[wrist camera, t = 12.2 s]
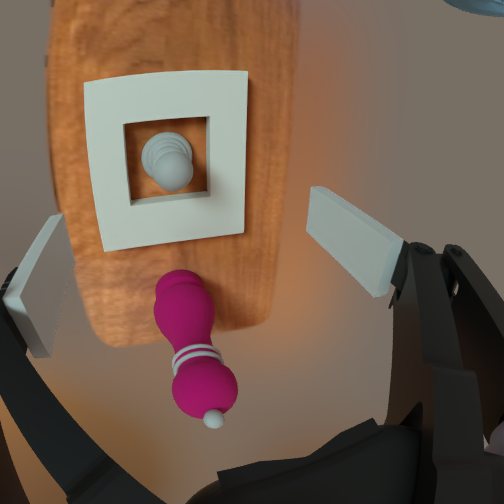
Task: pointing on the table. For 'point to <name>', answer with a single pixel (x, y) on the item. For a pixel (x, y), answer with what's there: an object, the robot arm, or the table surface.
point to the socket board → (156, 108)
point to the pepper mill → (194, 348)
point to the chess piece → (168, 160)
